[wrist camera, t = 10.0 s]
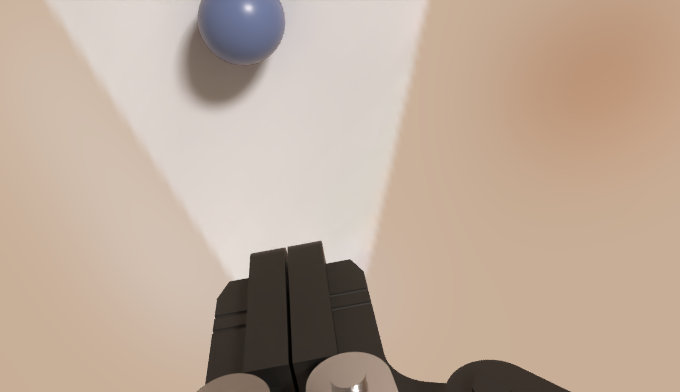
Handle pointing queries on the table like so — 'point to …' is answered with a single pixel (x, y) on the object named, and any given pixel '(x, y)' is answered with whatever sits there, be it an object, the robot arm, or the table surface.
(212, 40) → the blue ball
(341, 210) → the table surface
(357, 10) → the table surface
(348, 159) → the table surface
